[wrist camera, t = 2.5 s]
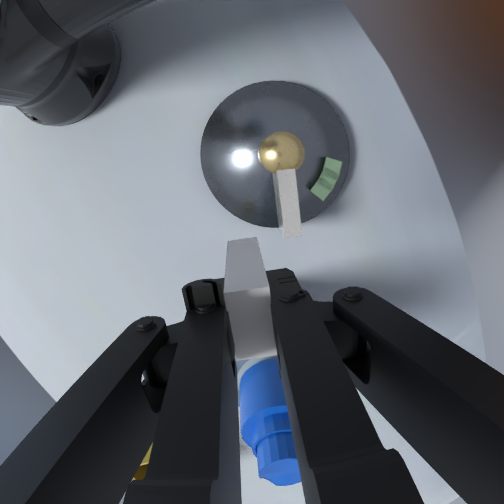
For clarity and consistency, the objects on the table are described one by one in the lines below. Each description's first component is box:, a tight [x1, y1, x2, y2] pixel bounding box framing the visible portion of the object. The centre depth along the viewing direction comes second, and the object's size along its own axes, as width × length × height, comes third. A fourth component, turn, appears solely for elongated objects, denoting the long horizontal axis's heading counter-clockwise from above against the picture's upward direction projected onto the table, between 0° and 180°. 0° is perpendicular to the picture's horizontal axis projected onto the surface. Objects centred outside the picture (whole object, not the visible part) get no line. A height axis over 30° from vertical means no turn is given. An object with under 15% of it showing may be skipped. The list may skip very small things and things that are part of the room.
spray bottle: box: [235, 355, 301, 486], centre depth 30 cm, size 9×9×25 cm
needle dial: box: [258, 132, 305, 238], centre depth 34 cm, size 11×4×5 cm, turn 8°
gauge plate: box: [201, 81, 350, 228], centre depth 36 cm, size 17×17×1 cm
